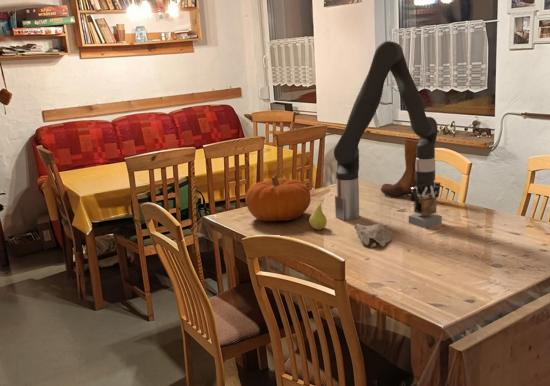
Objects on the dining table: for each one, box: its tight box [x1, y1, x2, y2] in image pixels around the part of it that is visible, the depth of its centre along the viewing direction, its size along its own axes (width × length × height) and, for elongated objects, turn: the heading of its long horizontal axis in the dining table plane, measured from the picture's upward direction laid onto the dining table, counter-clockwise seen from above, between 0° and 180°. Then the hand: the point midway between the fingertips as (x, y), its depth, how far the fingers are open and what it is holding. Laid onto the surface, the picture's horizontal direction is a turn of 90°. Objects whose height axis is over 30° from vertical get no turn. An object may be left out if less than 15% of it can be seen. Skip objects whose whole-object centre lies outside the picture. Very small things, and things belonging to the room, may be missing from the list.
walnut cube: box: [413, 195, 437, 216], centre depth 220 cm, size 6×6×6 cm
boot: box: [380, 139, 428, 199], centre depth 256 cm, size 25×9×27 cm, turn 39°
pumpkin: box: [244, 173, 312, 222], centre depth 238 cm, size 28×28×20 cm
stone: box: [354, 222, 392, 249], centre depth 206 cm, size 15×8×15 cm
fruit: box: [308, 198, 328, 231], centre depth 222 cm, size 7×8×12 cm
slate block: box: [408, 212, 443, 229], centre depth 221 cm, size 9×9×4 cm
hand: (425, 209), depth 220 cm, fingers closed on walnut cube, 5 cm apart
